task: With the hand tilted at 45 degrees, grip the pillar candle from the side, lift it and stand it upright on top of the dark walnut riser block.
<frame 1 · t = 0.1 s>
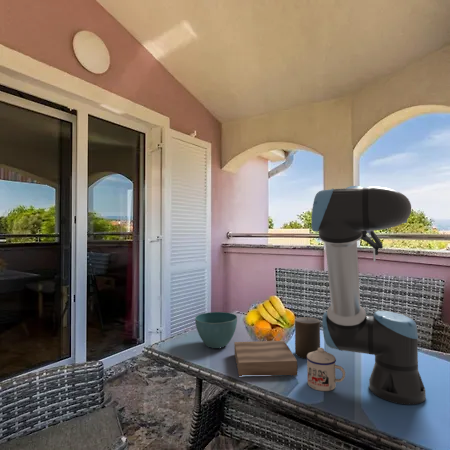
hand: (358, 259, 148), 36 cm above the table, tool tilted 35°, fingers open, 13 cm apart
teacup with lid: (325, 386, 103), on the table
walnut riser: (263, 364, 120), on the table
pillar candle: (307, 355, 129), on the table
plant pot: (216, 345, 141), on the table
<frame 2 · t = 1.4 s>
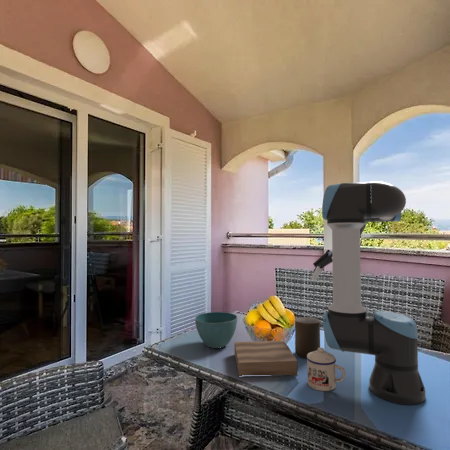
hand: (326, 281, 136), 28 cm above the table, tool tilted 45°, fingers open, 13 cm apart
nothing on the table moved.
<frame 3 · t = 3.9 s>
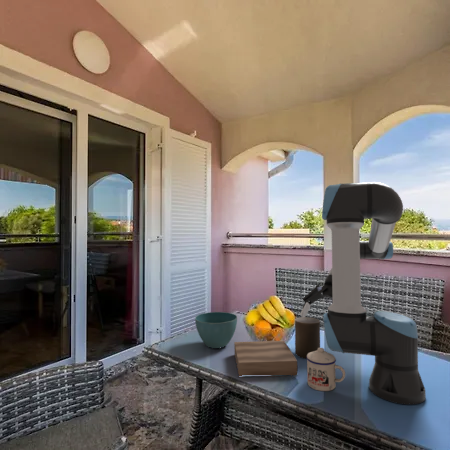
hand: (315, 320, 134), 12 cm above the table, tool tilted 45°, fingers open, 13 cm apart
nothing on the table moved.
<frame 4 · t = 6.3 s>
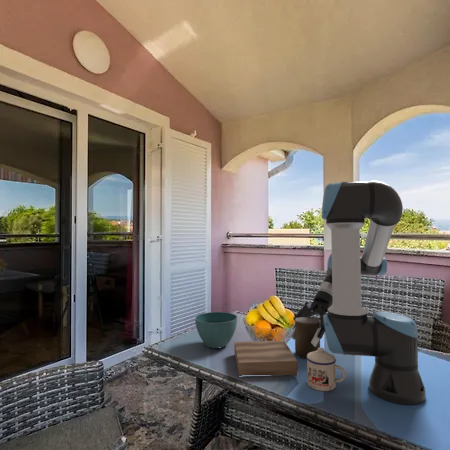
hand: (302, 341, 127), 6 cm above the table, tool tilted 45°, fingers closed on pillar candle, 9 cm apart
pillar candle: (307, 354, 129), on the table, touching gripper
everything else where it was.
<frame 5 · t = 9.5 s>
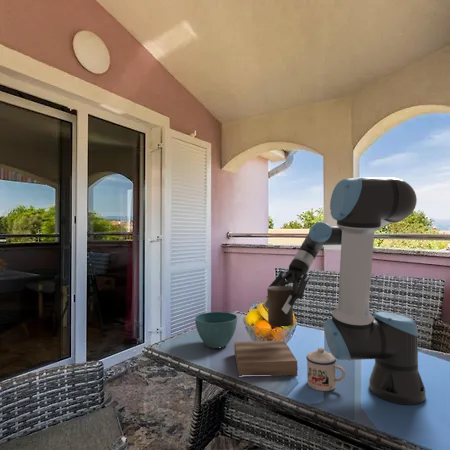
hand: (274, 309, 125), 19 cm above the table, tool tilted 45°, fingers closed on pillar candle, 9 cm apart
pillar candle: (280, 323, 126), point 13 cm above the table, touching gripper
everything else where it was.
when the fingers open (12 cm above the table, at t = 12.9 s): pillar candle drops 1 cm, resting on walnut riser.
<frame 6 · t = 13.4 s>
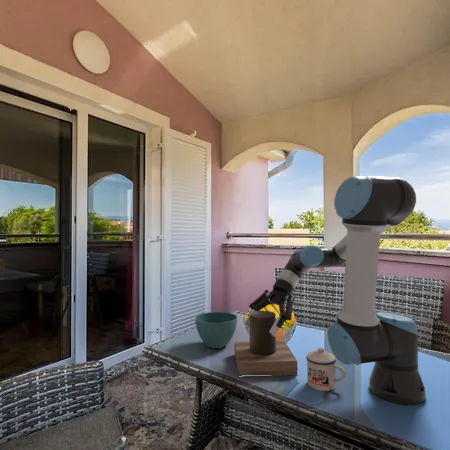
hand: (258, 329, 119), 13 cm above the table, tool tilted 45°, fingers open, 13 cm apart
pillar candle: (263, 350, 121), point 5 cm above the table, touching walnut riser
everything else where it was.
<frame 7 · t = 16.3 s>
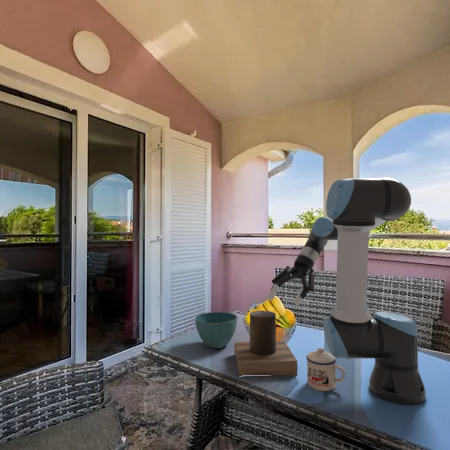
hand: (282, 301, 127), 22 cm above the table, tool tilted 45°, fingers open, 13 cm apart
nothing on the table moved.
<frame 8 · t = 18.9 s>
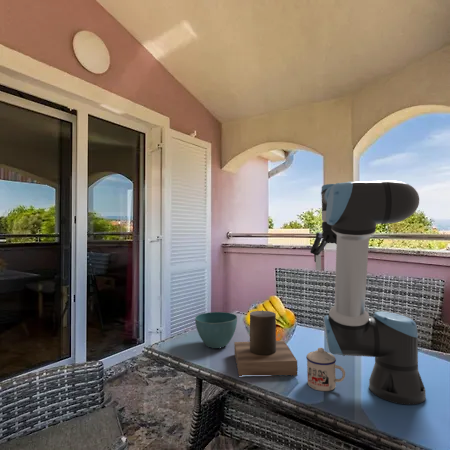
hand: (332, 271, 137), 32 cm above the table, tool pointing down, fingers open, 13 cm apart
nothing on the table moved.
at the end: pillar candle inside the target area on the walnut riser (0.3 cm from its centre), point 4.8 cm above the walnut riser's base; pillar candle tilted 0°; the gripper is holding nothing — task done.
